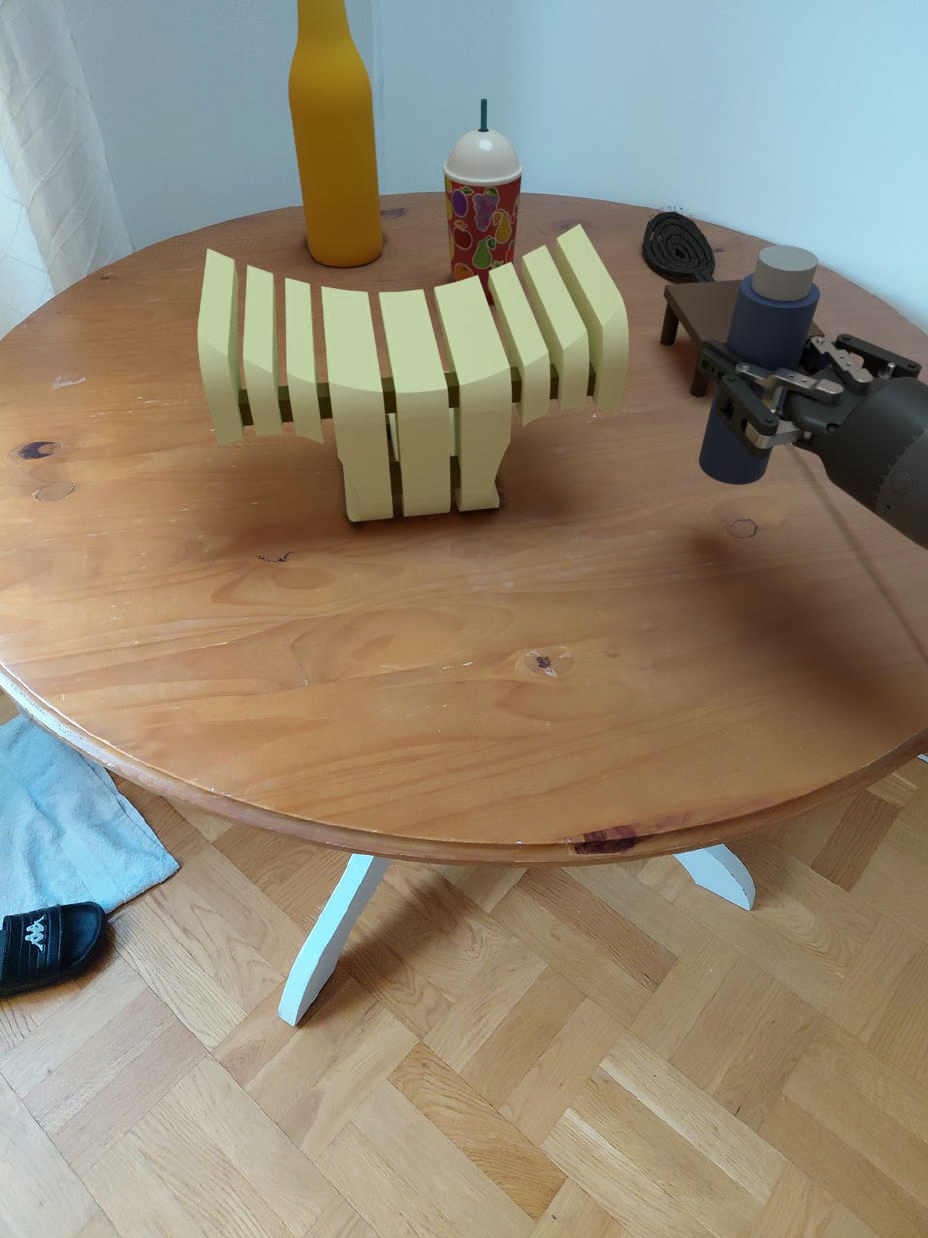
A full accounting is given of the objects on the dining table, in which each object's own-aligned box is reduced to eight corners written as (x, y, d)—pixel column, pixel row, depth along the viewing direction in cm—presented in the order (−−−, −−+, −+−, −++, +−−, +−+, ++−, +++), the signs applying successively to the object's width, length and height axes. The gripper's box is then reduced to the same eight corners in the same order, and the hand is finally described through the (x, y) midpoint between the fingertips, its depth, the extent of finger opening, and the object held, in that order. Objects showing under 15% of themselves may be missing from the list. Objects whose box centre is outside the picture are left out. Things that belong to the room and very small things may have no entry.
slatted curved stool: (245, 551, 70) (194, 352, 57) (249, 437, 80) (207, 248, 67) (604, 515, 73) (634, 318, 60) (562, 409, 83) (579, 223, 70)
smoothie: (509, 273, 103) (516, 84, 88) (524, 306, 98) (534, 110, 83) (440, 279, 102) (436, 88, 87) (451, 312, 97) (449, 115, 82)
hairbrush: (691, 312, 91) (637, 205, 107) (684, 343, 93) (632, 234, 109) (767, 309, 91) (702, 202, 107) (758, 340, 94) (695, 232, 110)
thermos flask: (751, 442, 67) (809, 237, 56) (775, 481, 64) (844, 272, 52) (689, 448, 67) (735, 242, 55) (711, 488, 63) (765, 278, 52)
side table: (761, 330, 94) (776, 276, 89) (806, 389, 86) (825, 334, 81) (655, 338, 93) (665, 284, 88) (691, 399, 85) (703, 343, 80)
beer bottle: (294, 251, 107) (252, -36, 86) (353, 229, 112) (326, -50, 90) (339, 276, 103) (306, -21, 81) (398, 252, 107) (382, -36, 86)
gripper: (821, 558, 51) (645, 415, 61) (984, 482, 55) (795, 361, 65) (863, 454, 45) (662, 315, 55) (1041, 380, 50) (825, 264, 60)
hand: (735, 341), depth 60 cm, fingers closed on thermos flask, 5 cm apart
